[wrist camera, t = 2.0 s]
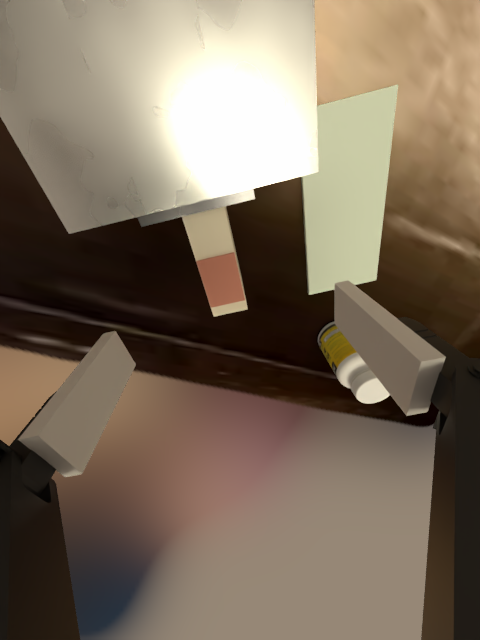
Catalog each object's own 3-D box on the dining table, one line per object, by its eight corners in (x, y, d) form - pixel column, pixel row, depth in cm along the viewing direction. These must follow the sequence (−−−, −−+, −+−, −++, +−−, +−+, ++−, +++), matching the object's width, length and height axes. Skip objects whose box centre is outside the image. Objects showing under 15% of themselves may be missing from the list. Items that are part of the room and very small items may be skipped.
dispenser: (80, 38, 16) (-222, -262, 5) (245, -10, 16) (303, -475, 5) (148, 213, 22) (76, 246, 11) (269, 183, 22) (318, 187, 11)
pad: (297, 112, 19) (298, 110, 19) (394, 86, 19) (398, 84, 18) (307, 293, 28) (309, 294, 28) (373, 278, 28) (376, 280, 27)
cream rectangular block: (176, 144, 20) (151, 124, 13) (210, 135, 20) (203, 110, 13) (216, 281, 27) (213, 317, 20) (241, 275, 26) (247, 310, 19)
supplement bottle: (308, 335, 31) (340, 391, 23) (343, 311, 30) (390, 362, 21) (329, 356, 34) (364, 414, 25) (362, 335, 32) (411, 390, 24)
